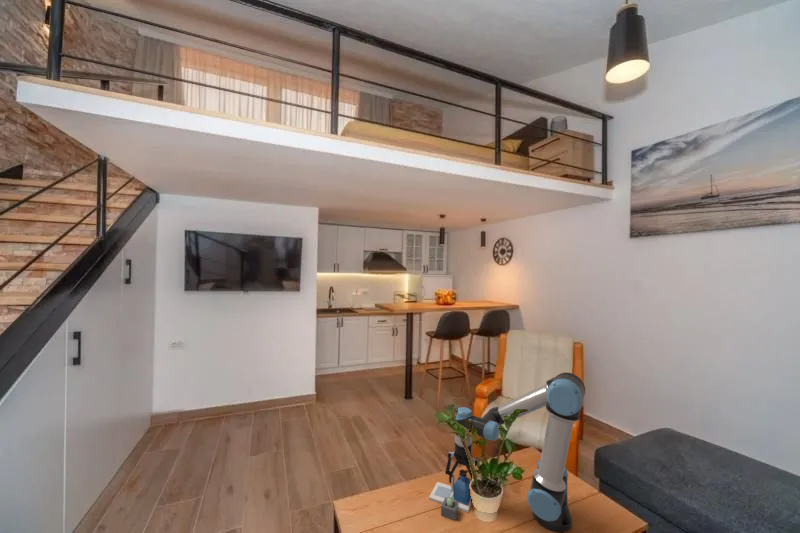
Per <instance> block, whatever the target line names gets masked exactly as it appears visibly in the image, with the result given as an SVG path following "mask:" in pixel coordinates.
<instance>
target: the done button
mask: <svg viewBox="0 0 800 533" xmlns="http://www.w3.org/2000/svg"><path fill="white" fill-rule="evenodd" d="M447 506H448V507H451V508H453V498H452V497H448V498H447Z"/></svg>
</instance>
